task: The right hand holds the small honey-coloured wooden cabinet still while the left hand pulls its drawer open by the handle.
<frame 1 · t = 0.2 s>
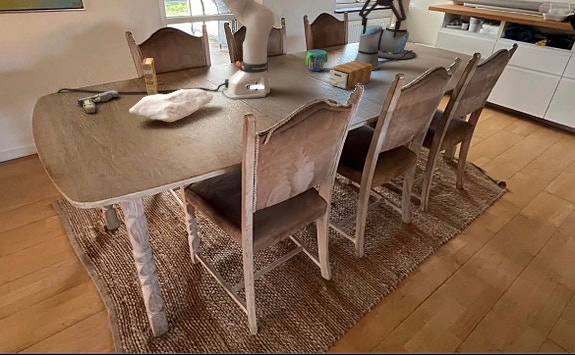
right hand: (378, 35, 162), 28 cm above the table, tool pointing down, fingers open, 13 cm apart
cabinet: (350, 82, 192), on the table
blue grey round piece: (389, 53, 250), on the table
snack cup: (315, 70, 210), on the table
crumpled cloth: (172, 113, 149), on the table
drawer: (344, 76, 186), point 4 cm above the table, slide at 1.8 cm
handgun: (101, 103, 156), on the table
candy box: (153, 94, 167), on the table
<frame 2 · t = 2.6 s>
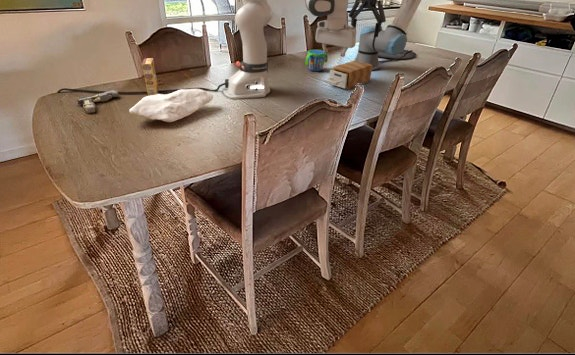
left hand: (334, 54, 174), 17 cm above the table, tool pointing down, fingers open, 8 cm apart
right hand: (364, 34, 184), 23 cm above the table, tool pointing down, fingers open, 13 cm apart
nothing on the table moved.
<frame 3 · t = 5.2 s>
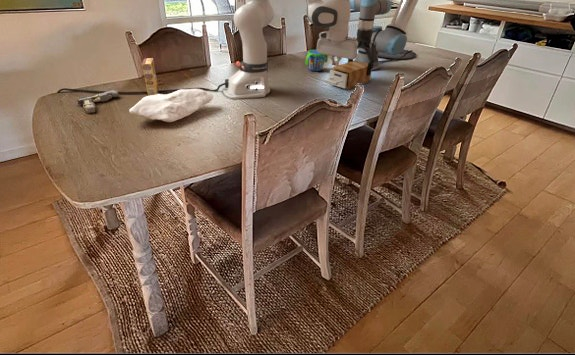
left hand: (335, 65, 176), 12 cm above the table, tool pointing down, fingers closed
right hand: (358, 72, 194), 4 cm above the table, tool pointing down, fingers closed on cabinet, 11 cm apart
cabinet: (350, 82, 192), on the table, touching right hand
everything else where it was.
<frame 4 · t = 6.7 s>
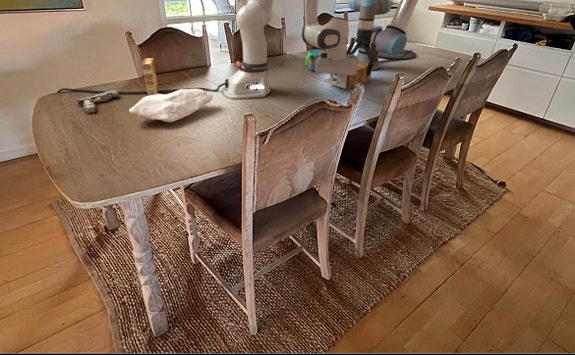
left hand: (334, 82, 180), 4 cm above the table, tool pointing down, fingers closed
right hand: (358, 72, 194), 4 cm above the table, tool pointing down, fingers closed on cabinet, 11 cm apart
cabinet: (350, 82, 192), on the table, touching right hand
drawer: (344, 76, 186), point 4 cm above the table, slide at 1.8 cm, touching left hand
everything else where it was.
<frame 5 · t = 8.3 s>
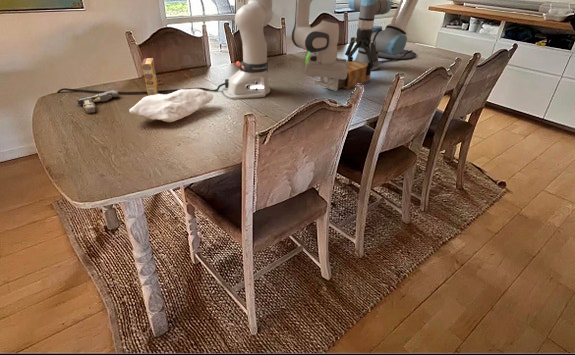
left hand: (324, 86, 177), 3 cm above the table, tool pointing down, fingers closed
right hand: (358, 72, 194), 4 cm above the table, tool pointing down, fingers closed on cabinet, 11 cm apart
cabinet: (350, 82, 192), on the table, touching right hand
drawer: (336, 79, 182), point 5 cm above the table, slide at 8.3 cm, touching left hand
everything else where it was.
when the right hand's fingers open (4 cm above the table, at t = 9.9 s): cabinet stays where it is, on the table.
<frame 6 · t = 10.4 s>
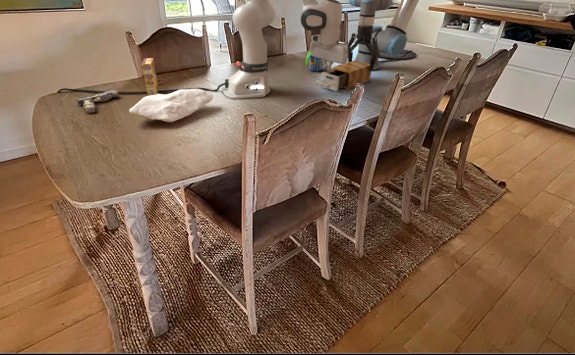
left hand: (327, 69, 173), 11 cm above the table, tool pointing down, fingers closed
right hand: (360, 67, 193), 7 cm above the table, tool pointing down, fingers open, 13 cm apart
cabinet: (350, 82, 192), on the table
drawer: (336, 79, 182), point 4 cm above the table, slide at 8.3 cm
everything else where it was.
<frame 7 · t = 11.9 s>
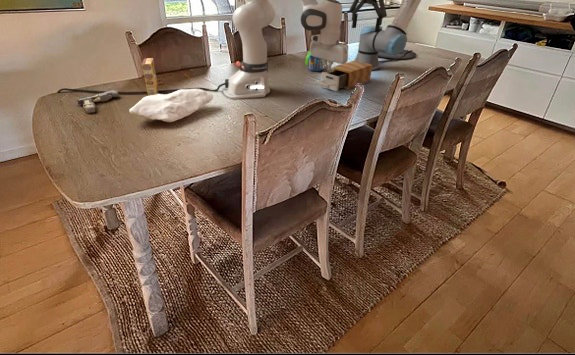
left hand: (327, 69, 173), 11 cm above the table, tool pointing down, fingers closed
right hand: (365, 30, 183), 26 cm above the table, tool pointing down, fingers open, 13 cm apart
nothing on the table moved.
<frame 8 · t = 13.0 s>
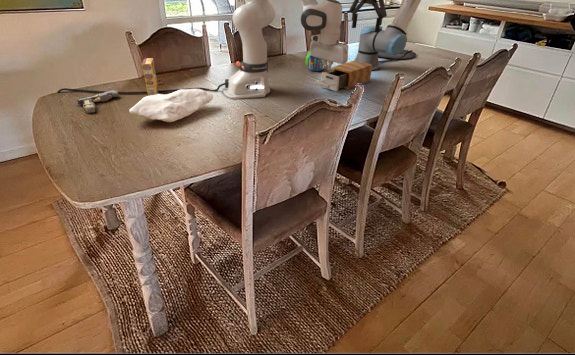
left hand: (327, 69, 173), 11 cm above the table, tool pointing down, fingers closed
right hand: (365, 30, 183), 26 cm above the table, tool pointing down, fingers open, 13 cm apart
nothing on the table moved.
at the end: drawer slide at 8.3 cm; cabinet tilted 0°; cabinet never tilted more than 1° during the clip; cabinet moved 0.0 cm from its start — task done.
